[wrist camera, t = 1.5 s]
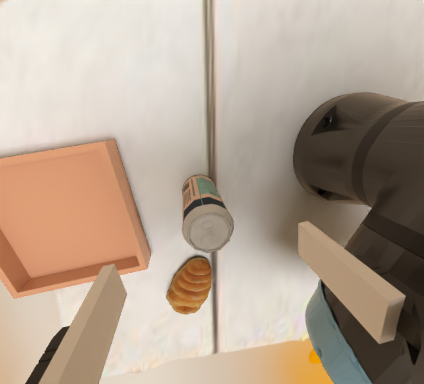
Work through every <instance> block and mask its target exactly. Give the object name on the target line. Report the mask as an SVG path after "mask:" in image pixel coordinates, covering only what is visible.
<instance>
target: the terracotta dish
mask: <svg viewBox="0 0 424 384" xmlns="http://www.w3.org/2000/svg"><path fill="white" fill-rule="evenodd" d="M150 256H151V252H150V249H149V245H148V242H147V239H146V236H145V233H144V230H143V227H142V223H141V220H140V217H139V214H138V211H137V208H136V205H135V202H134V198H133V195H132V192H131V189H130V186H129V183H128V180H127V177H126V173H125V170H124V167H123V164H122V161H121V158H120V155H119V152H118V148H117V145H116V142H115V139H113V140H106V141H100V142H94V143H88V144H82V145H76V146H70V147H64V148H58V149H52V150H46V151H40V152H34V153H28V154H22V155H16V156H10V157H4V158H0V279H1V280H2V282H3V283H4V285H5V286H6V288H7V289H8V291H9V292H10V293H11V295H12V296H13V298H19V297H24V296H28V295H33V294H37V293H42V292H46V291H51V290H55V289H60V288H64V287H69V286H73V285H78V284H82V283H87V282H91V281H95V280H96V278H97V276H98V274H99V272H100V270H101V269H102V267H103V266H107V265H111V264H115V266H116V269H117V271H118V273H119V275H123V274H127V273H132V272H136V271H141V270H145V269H147V268H148V264H149V260H150Z"/></svg>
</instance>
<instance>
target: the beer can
mask: <svg viewBox="0 0 424 384" xmlns="http://www.w3.org/2000/svg"><path fill="white" fill-rule="evenodd" d="M182 194H183V226H182V231H183V236H184V238H185V240H186V241H187V242H188V243H189V244H190V245H191V246H192V247H193V248H194V249H196V250H199V251H202V252H206V253H209V252H213V251H217V250H220V249H221V248H222V247H223V246H224V245H226V244H227V243H228V242H229V241H230V237H231V235H232V232H233V229H234V224H233V219H232V217H231V215H230V213H229V212H228V211H227V209H226V207H225V205H224V203H223V201H222V199H221V197H220V195H219V193H218V191H217V190H216V187H215V185H214V183H213V181H212V180H211V179H210V178H208V177H206V176H203V175H196V176H193V177H191V178H189V179H188V180H187V181H186V182H185V183H184V185H183V189H182Z"/></svg>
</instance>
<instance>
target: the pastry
mask: <svg viewBox="0 0 424 384" xmlns="http://www.w3.org/2000/svg"><path fill="white" fill-rule="evenodd" d="M210 288H211V267H210V264H209V262H208V260H207V259H204V258H193V259H191V260H189V261H188V262H187V263H186V264H185V265H184V267H182V268H181V269H180V270H179V271H178V272H177V273H176V276H175V277H174V278H173V280H172V284H171V286H170V289H169V291H168V293H167V295H166V298H167V300H168V301H169V304H170V305H171V306H172V307H173V309H174V310H175V311H176V312H178V313H181V314H190V313H195V312H196V311H198V310H199V309H200V307H201V305H202V304H203V303H204V301H205V300H206V298H207V297H208V293H209V291H210Z"/></svg>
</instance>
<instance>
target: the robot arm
mask: <svg viewBox="0 0 424 384" xmlns="http://www.w3.org/2000/svg"><path fill="white" fill-rule="evenodd" d="M294 168H295V172H296V175H297V178H298V180H299V181H300V183H301V184H302V186H303V187H304V188H305V189H306V190H308V191H309V192H310V193H312V194H314V195H316V196H318V197H320V198H322V199H324V200H328V201H332V202H340V203H351V204H361V205H367V206H370V207H372V209H371V210H370V212H369V213H368V215H367V216H366V218H365V219H364V221H363V222H362V223H361V224H360V226H359V227H358V229H357V230H356V232H355V233H354V235H353V236H352V237H351V239H350V240H349V242H348V243H347V245H346V246H345V248H343V247H341V246H340V245H339V244H337V243H336V242H335V241H334V240H332V239H331V238H330V237H328V236H327V235H326V234H324V233H323V232H322V231H321V230H319V229H318V228H317V227H315V226H314V225H313V224H311V223H310V222H309V221H306V222H301V223H298V254H299V255H300V256H301V258H302V259H303V260H304V261H305V262H306V263H307V264H308V265H309V266H310V268H311V269H312V270H313V271H314V272H315V273H316V274H317V275H318V277H319V278H320V280H319V283H318V287H317V289H316V291H315V292H314V294H313V296H312V298H311V299H310V301H309V303H308V305H307V308H306V314H305V317H306V326H307V331H308V334H309V337H310V340H311V342H312V345H313V348H314V350H315V351H316V353H317V355H318V356H319V358H320V360H321V362H322V365H323V367H324V368H325V370H326V372H327V374H328V375H329V377H330V378H331V380H332V381H333V383H334V384H424V101H422V102H407V101H403V100H399V99H395V98H391V97H387V96H383V95H379V94H375V93H367V92H362V93H353V94H348V95H343V96H339V97H336V98H334V99H331V100H329V101H328V102H326V103H324V104H323V105H322V106H320V107H319V108H318V109H317V110H316V111H315V112H314V113H313V114H312V115H311V116H310V117H309V118H308V120H307V121H306V122H305V124H304V126H303V127H302V129H301V131H300V133H299V135H298V138H297V141H296V144H295V149H294ZM126 296H127V293H126V290H125V288H124V286H123V283H122V281H121V278H120V276H119V273H118V271H117V269H116V266H115V264H111V265H107V266H103V267H102V269H101V270H100V272H99V274H98V276H97V278H96V280H95V281H94V283H93V285H92V287H91V289H90V291H89V292H88V294H87V296H86V298H85V300H84V302H83V303H82V305H81V307H80V309H79V311H78V313H77V314H76V316H75V318H74V320H73V322H72V323H71V325H70V326H67V327H63V328H62V329H61V330H60V331H59V332H58V333H57V334H56V335H55V336H54V337H53V339H52V340H51V342H50V343H49V345H48V347H47V348H46V350H45V353H44V354H43V355H42V357H41V358H40V360H39V363H38V364H37V365H36V367H35V368H34V370H33V372H32V373H31V375H30V377H29V379H28V380H27V382H26V383H25V384H99V381H100V378H101V375H102V372H103V369H104V365H105V362H106V359H107V356H108V353H109V350H110V346H111V343H112V340H113V337H114V334H115V331H116V327H117V324H118V321H119V318H120V315H121V312H122V309H123V305H124V302H125V299H126Z"/></svg>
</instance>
